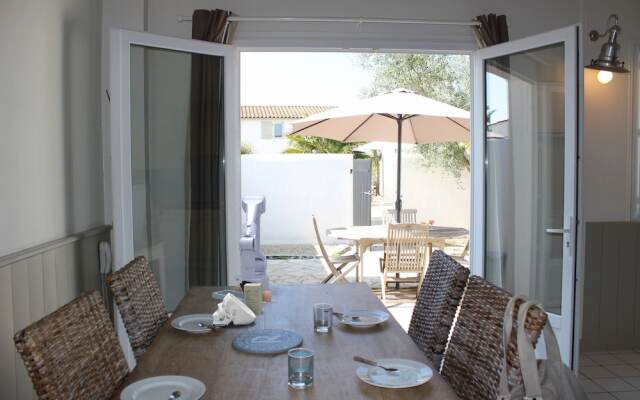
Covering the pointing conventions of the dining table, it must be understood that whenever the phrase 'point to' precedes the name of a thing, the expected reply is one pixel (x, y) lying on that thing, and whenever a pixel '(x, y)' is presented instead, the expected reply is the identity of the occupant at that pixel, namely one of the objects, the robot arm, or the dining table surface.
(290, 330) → the dining table surface
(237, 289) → the beech block
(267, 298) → the peach rounded cylinder
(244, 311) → the skull bowl
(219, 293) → the slate board with cubby
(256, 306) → the skincare box
